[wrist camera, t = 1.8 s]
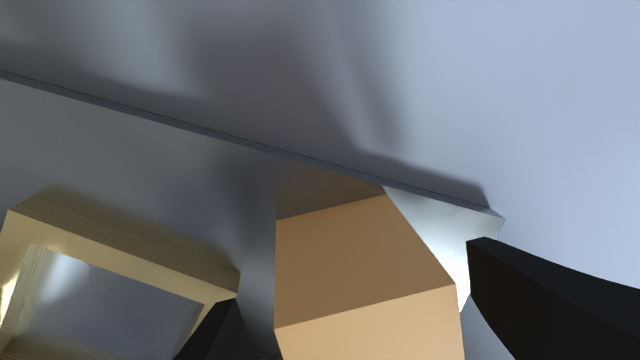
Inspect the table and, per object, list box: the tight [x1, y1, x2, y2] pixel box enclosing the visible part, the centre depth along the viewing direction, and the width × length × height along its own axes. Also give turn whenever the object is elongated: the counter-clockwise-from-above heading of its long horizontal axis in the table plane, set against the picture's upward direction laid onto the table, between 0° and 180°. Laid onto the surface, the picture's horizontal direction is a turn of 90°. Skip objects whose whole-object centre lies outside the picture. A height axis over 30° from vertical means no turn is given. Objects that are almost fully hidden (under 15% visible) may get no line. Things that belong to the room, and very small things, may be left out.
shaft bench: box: [0, 71, 506, 360], centre depth 12 cm, size 15×26×5 cm, turn 72°
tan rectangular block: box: [274, 194, 465, 360], centre depth 11 cm, size 4×4×6 cm
